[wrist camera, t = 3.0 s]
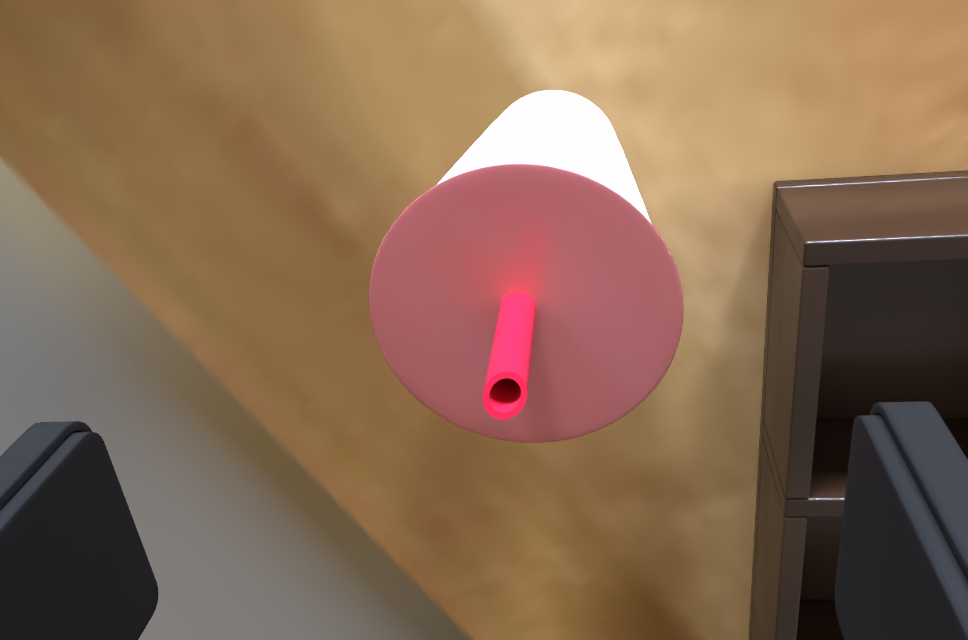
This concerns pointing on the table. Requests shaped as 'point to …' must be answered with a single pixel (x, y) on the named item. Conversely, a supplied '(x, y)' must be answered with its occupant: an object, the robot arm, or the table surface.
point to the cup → (530, 281)
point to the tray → (848, 364)
